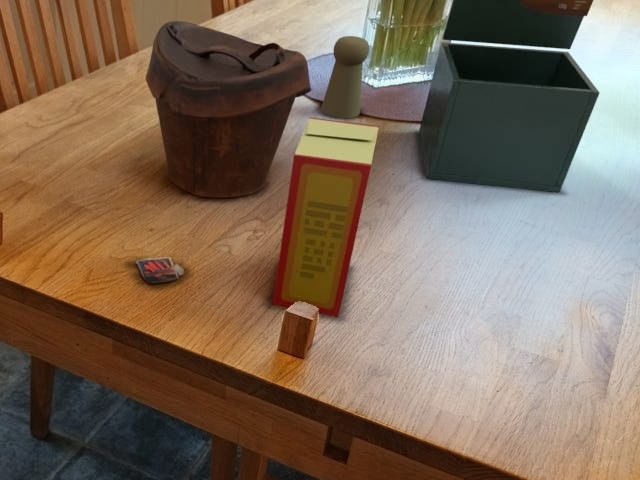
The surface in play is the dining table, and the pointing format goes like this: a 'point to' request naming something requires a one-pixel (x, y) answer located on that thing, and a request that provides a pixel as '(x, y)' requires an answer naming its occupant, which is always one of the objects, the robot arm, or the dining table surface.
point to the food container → (560, 6)
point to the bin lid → (509, 24)
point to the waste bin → (504, 116)
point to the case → (221, 106)
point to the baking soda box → (323, 212)
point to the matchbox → (159, 269)
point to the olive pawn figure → (346, 78)
